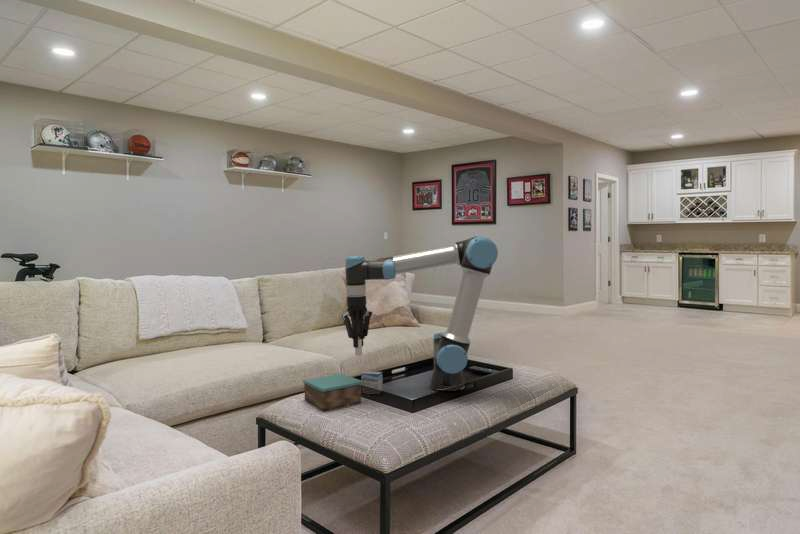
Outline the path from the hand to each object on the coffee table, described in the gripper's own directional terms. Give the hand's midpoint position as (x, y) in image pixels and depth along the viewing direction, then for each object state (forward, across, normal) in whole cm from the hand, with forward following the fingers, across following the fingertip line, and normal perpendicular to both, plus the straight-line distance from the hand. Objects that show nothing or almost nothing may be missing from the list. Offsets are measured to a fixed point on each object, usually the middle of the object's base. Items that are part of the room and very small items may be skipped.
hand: (358, 355), depth 206 cm
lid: (+10, +11, -2) cm, 15 cm away
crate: (+17, +11, -3) cm, 20 cm away
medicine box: (+18, -7, -2) cm, 19 cm away
